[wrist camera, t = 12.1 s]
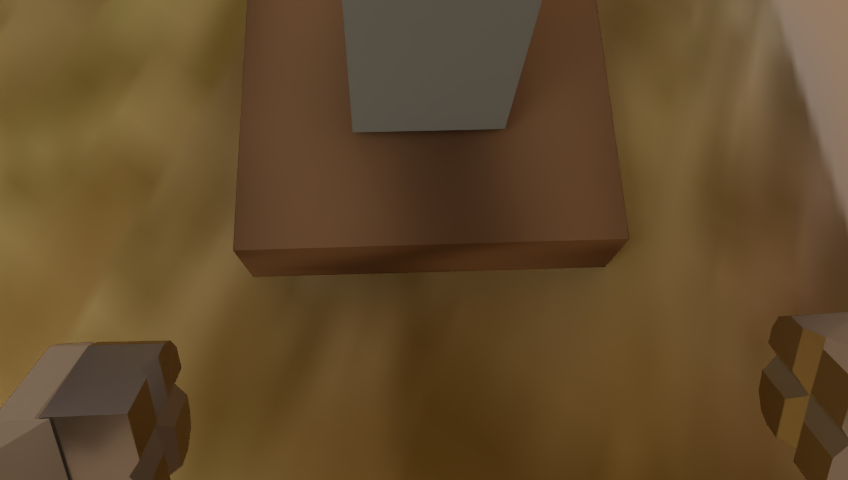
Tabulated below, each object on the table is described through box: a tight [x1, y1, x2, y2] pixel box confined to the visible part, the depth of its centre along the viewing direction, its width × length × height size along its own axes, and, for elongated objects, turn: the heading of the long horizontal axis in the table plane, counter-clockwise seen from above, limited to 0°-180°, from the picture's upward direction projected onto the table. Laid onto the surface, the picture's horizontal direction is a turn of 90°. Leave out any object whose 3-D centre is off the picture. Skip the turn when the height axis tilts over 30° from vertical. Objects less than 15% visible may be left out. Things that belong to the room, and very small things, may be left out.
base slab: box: [233, 0, 629, 277], centre depth 21 cm, size 10×10×3 cm
